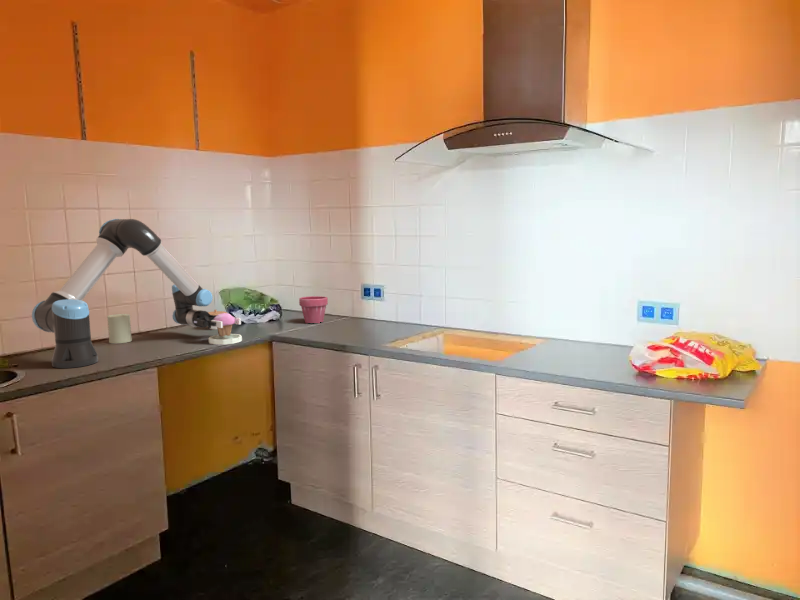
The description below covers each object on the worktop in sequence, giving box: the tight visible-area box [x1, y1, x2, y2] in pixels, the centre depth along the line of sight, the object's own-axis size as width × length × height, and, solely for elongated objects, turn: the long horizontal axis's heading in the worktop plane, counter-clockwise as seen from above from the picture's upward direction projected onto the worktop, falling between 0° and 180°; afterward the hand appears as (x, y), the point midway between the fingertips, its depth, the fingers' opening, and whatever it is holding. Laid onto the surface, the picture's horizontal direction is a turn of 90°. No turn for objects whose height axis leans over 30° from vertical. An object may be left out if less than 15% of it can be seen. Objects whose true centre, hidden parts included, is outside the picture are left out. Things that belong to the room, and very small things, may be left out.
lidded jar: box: [207, 309, 228, 331], centre depth 292 cm, size 11×11×9 cm
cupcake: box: [214, 312, 235, 336], centre depth 259 cm, size 9×9×10 cm
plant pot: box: [298, 295, 329, 324], centre depth 305 cm, size 14×14×13 cm
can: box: [106, 313, 133, 345], centre depth 263 cm, size 9×9×12 cm
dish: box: [208, 333, 243, 346], centre depth 260 cm, size 14×14×2 cm
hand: (231, 323), depth 257 cm, fingers closed on cupcake, 9 cm apart
